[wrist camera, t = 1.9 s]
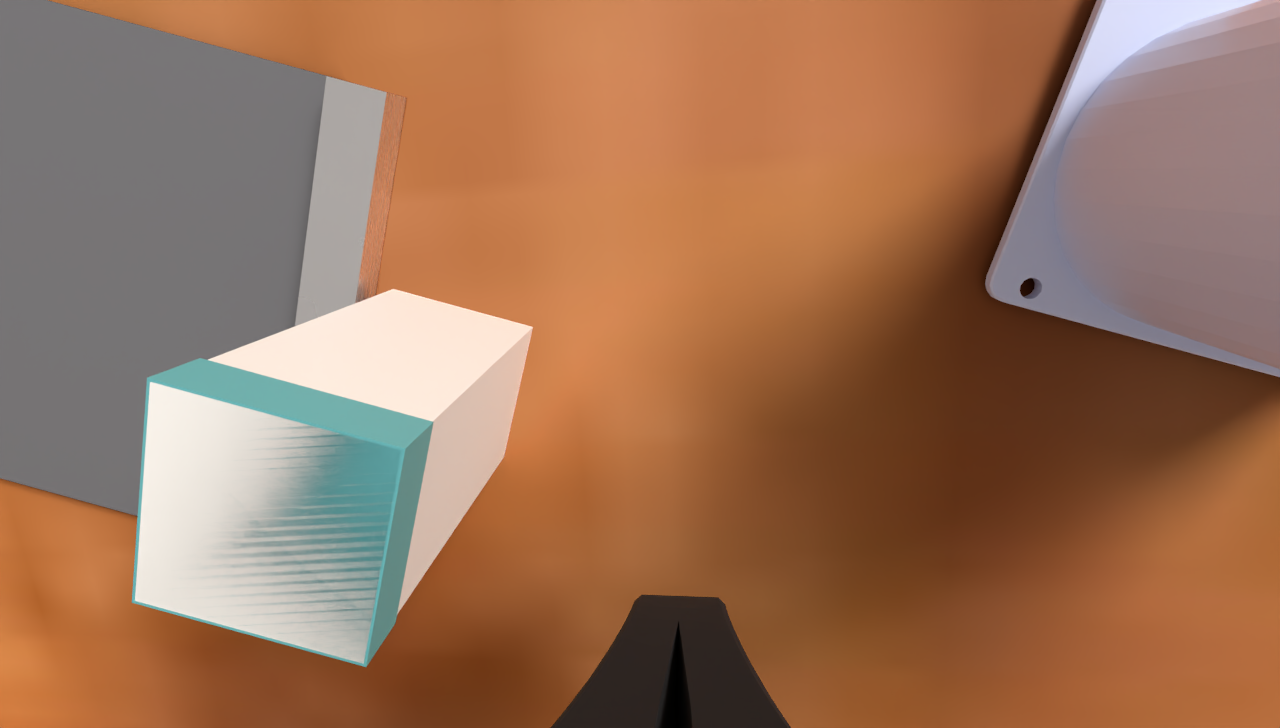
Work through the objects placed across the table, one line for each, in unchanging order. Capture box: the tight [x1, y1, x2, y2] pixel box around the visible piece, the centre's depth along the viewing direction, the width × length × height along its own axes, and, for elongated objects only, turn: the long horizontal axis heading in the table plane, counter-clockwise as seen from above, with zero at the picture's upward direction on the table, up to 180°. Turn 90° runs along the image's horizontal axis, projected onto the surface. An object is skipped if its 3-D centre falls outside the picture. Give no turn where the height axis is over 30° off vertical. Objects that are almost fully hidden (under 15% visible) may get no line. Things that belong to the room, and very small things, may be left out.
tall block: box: [132, 289, 533, 667], centre depth 16 cm, size 4×4×9 cm
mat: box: [0, 0, 340, 516], centre depth 20 cm, size 9×14×1 cm, turn 165°
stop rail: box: [295, 76, 406, 326], centre depth 19 cm, size 2×14×1 cm, turn 166°
